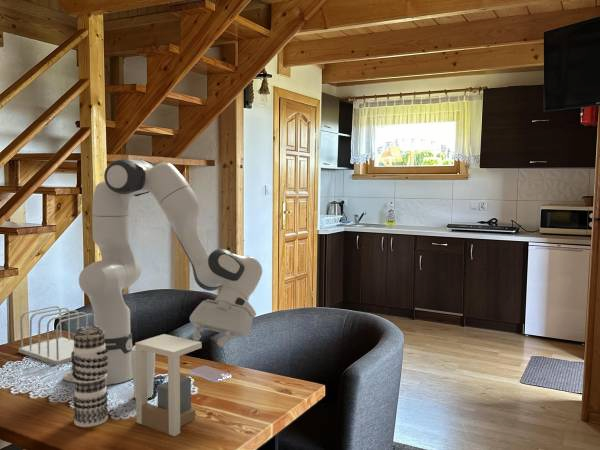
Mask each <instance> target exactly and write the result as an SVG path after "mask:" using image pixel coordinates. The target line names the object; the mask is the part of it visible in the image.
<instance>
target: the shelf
mask: <svg viewBox="0 0 600 450" xmlns="http://www.w3.org/2000/svg"><path fill="white" fill-rule="evenodd" d="M134 346H135V354H136V399H135V402H136V404H135V406H136V407H135V410H136V413H135V415H136V416H135V417H136V419H135V420H136V423H137V424H140V425H143V426H145V427H148V428H151V429H153V430H156V431H159V432H161V433H164V434H168V435H170V436H172V437H176V436H178V435H180V434H181V427H183V426H185V425H187V424H189V423H191V422H193V421H195V420H196V410H195V409H192V408H191V409H190V410H188V411H186V412H184V413H182V414H180V376H181V373H180V372H181V371H180V370H181V367H180V366H181V364H180V362H181V359H180V356H184V355H186V354H188V353H191V352H194V351H196V350H199V349H202V348H203V347H202V346H203V344H202V341H197V340H194V339H189V338H183V337H179V336H174V335H170V334H166V333H163V334H160V335H156V336H153V337H149V338H146V339H143V340H140V341H137V342H135V343H134ZM147 351H148V352H152V353H155V355H161V356H165V357H167V374H168V375H167V377H168V378H167V382H168V403H169V410H166V409H163V408H160V407H158V405H153V404H151V403H148V399H147Z"/></svg>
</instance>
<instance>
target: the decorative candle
mask: <svg viewBox="0 0 600 450" xmlns="http://www.w3.org/2000/svg"><path fill="white" fill-rule="evenodd" d="M105 333H106V332H105V331H103V330H102V329H101V327H99V326H94V325H88V326H86V325H84V326H81V327H79V329H78V330H77V329H76V331H75V333H73V334H72V337H73V340H74V346H73V347H74V350H73V352H72V353H71V354H72V355H71V357H73V358H72V360H71V369H72V370H73V373H72V375H73V380H74V381H75V382H74V387H75V388H74V396H73V397H72V399H73V401H74V402H73V406H74V408H73V409H72V410H73V414H74V415H73V419H74V420H73V423H74V425H75V426H77V427H81V428H90V427H95V426H99V425H102V424H104V423H105V422H107V420H108V419H109V416H108V413H109V410H108V407H109V405H108V399H109V398H108V395H109V393H108V392H107V385H105V378H106V377H107V369H105V366H107V364H108V362H106V360H107V359H108V357H107V356H105V355H104V354H105V353H107V352H108V349H106V347H105V342H104V341H105V337H104V335H105ZM74 354H75V356H74ZM72 364H73V366H72ZM72 367H73V368H72Z"/></svg>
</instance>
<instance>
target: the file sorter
mask: <svg viewBox="0 0 600 450" xmlns="http://www.w3.org/2000/svg"><path fill="white" fill-rule="evenodd" d="M62 310H63V311H62ZM64 310H65V311H64ZM55 311H58V312H55ZM34 312H35V313H34ZM50 312H54V313H50ZM73 312H74V313H73ZM29 313H33V314H32V315H31V316H30V318H29V345H25V346H24V336H23V335H24V334H23V333H24V332H23V318H24V316H25V315H26V314H29ZM46 313H47V314H46ZM48 313H49V314H48ZM65 313H66V314H65ZM42 314H43V315H42ZM62 314H64V315H62ZM82 314H83V315H82ZM37 315H41V317H40V318H39V319H38V322H37V323H38V325H37V326H38V327H37V328H38V329H37V331H38V332H37V337H38V342H36V343H32V337H33V336H32V334H33V333H32V326H33V325H32V324H33V323H32V322H33V318H34V317H35V316H37ZM55 315H59V316H55ZM52 316H53V317H52ZM91 316H92V317H94V313H87V312H84V311H80V312H79V311H78V310H76V309H69V308H67V307H59V306H58V305H52V306H51V305H50V306H47V307H41V308H37V309H32V310H28V311H25V312H23V313H22V314H21V316H20V320H19V321H20V346H21V347H18V353H20V354H22V355H26V356H28V357H30V358H33V357H34V359H36V358H37V360H39V359H40V360H39V361H42V360H43V361H42V362H45V361H46V362H45V363H48V362H49V363H48V364H51V365H53V364H54V366H56V365H58V366H60V365H59V364H61V365H64V364H67V363H70V362H69V361H71V360H72V358H73V357H71V355H72V354H71V353H72V352H73V350H74V347H73V346H74V339H71V320H75V319H77V321H76V322H77V324H76V327H77V328H76V331H77V330H78V329H79V328H80V318H86V319H85V322H86V323H85V326H89V317H91ZM46 317H52V318H50V319H49V320H48V321H47V324H46V340H44V341H41V321H43V319H44V318H46ZM66 317H67V318H66ZM63 318H66V319H63ZM56 319H59V322H58V323H57V325H56V328H55V332H56V333H55V337H56V338H55V337H54V338H52V339H50V329H49V327H50V324H51V322H52V321H53V320H56ZM67 321H68V322H67ZM65 322H67V326H68V327H67V330H68V338H66V337H63V336H62V332H63V331H62V323H65ZM74 356H75V354H74ZM66 362H67V363H66ZM63 363H64V364H63Z"/></svg>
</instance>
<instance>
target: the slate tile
mask: <svg viewBox="0 0 600 450" xmlns="http://www.w3.org/2000/svg"><path fill="white" fill-rule="evenodd" d="M157 407H160V408H163V409H166V410H169V403H168V381H166V382H162V383H161V384H159V385H157ZM190 409H192V378H191V377H189V376H186V375H180V414H182V413H184V412H186V411H188V410H190Z"/></svg>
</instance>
